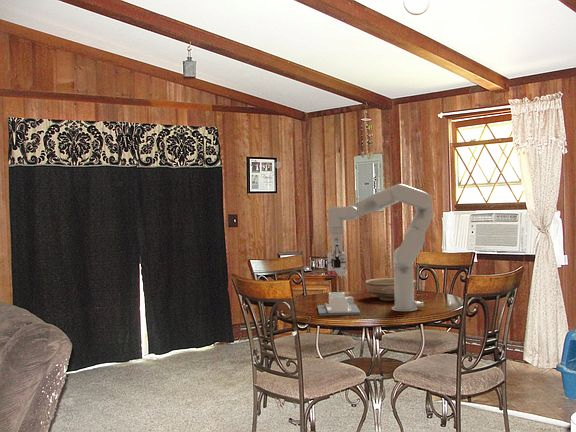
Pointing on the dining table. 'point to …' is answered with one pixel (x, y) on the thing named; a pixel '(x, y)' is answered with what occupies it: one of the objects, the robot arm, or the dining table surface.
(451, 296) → the dining table surface
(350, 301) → the block
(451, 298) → the dining table surface
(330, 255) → the ink box
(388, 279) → the ceramic bowl
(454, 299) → the dining table surface
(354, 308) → the rail panel
